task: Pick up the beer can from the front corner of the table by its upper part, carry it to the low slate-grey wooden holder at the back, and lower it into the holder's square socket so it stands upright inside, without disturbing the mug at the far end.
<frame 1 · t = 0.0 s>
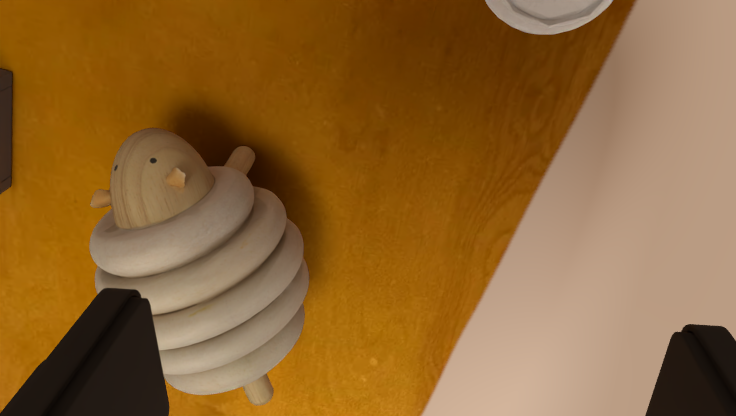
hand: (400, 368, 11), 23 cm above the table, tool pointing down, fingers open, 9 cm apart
toy sheep: (236, 223, 37), on the table
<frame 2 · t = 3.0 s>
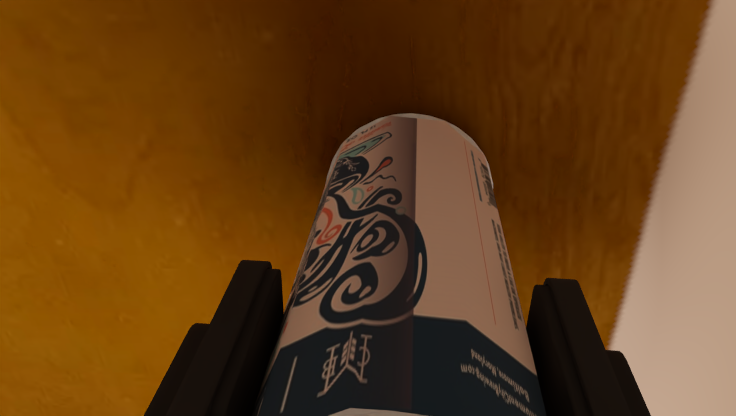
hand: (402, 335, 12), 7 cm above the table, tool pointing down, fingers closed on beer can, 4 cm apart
beer can: (409, 182, 18), on the table, touching gripper
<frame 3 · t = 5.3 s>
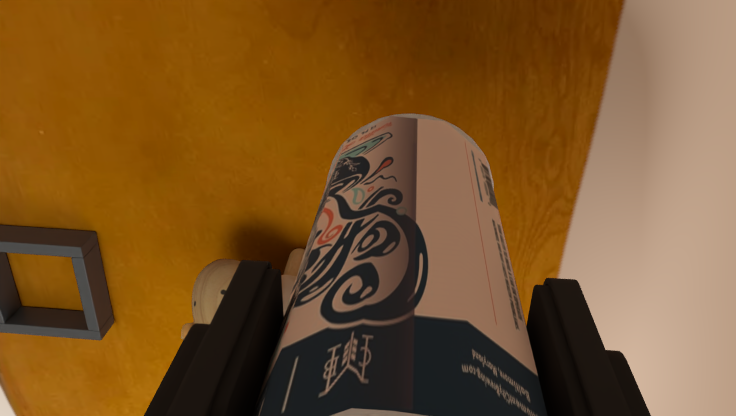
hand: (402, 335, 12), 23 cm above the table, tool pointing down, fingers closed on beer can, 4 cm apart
holder: (52, 274, 41), on the table
beer can: (409, 182, 18), point 16 cm above the table, touching gripper
toy sheep: (306, 313, 41), on the table
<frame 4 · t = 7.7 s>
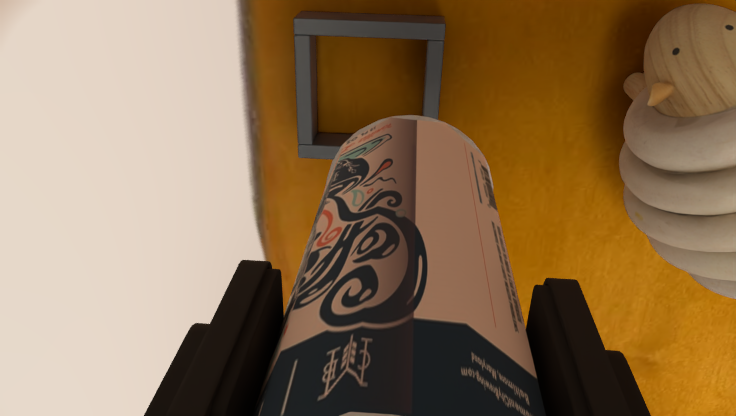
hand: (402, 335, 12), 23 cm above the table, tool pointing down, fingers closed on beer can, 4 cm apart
holder: (370, 84, 33), on the table
beer can: (409, 183, 18), point 16 cm above the table, touching gripper
toy sheep: (689, 129, 33), on the table
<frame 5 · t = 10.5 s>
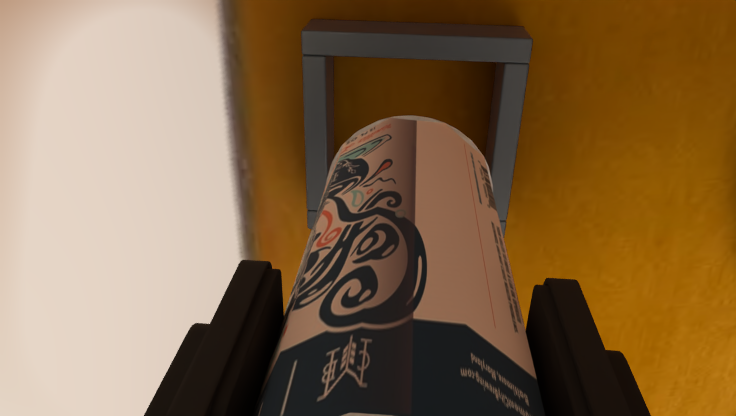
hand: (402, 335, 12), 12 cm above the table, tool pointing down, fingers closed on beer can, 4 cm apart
holder: (410, 123, 23), on the table
beer can: (408, 183, 18), point 5 cm above the table, touching gripper
when the fingers open (7 cm above the table, at t = 12.6 s): beer can stays where it is, resting in holder.
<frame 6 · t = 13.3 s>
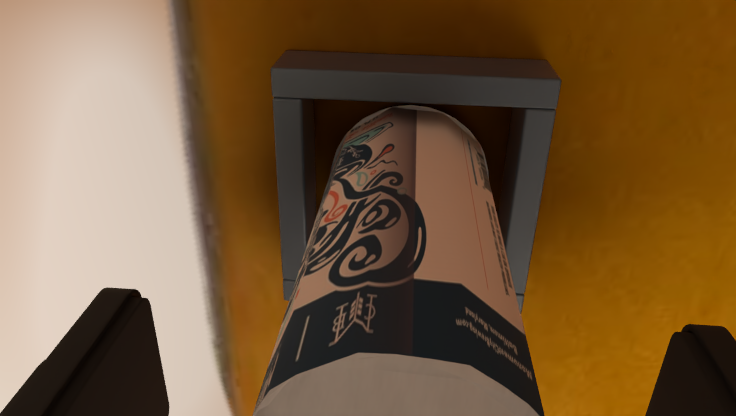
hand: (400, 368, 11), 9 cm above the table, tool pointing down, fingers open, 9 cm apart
holder: (408, 173, 19), on the table
beer can: (409, 171, 19), resting in holder
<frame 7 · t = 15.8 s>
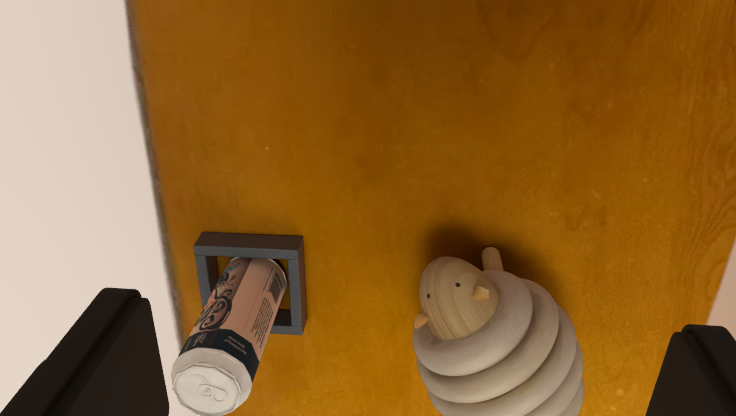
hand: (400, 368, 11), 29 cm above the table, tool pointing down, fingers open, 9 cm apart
holder: (256, 276, 45), on the table
beer can: (257, 275, 45), resting in holder
toy sheep: (487, 306, 45), on the table
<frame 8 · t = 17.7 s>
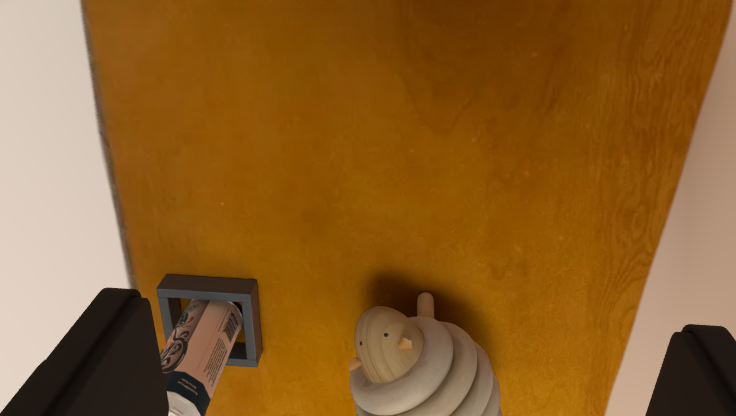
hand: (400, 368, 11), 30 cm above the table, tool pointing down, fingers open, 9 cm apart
holder: (215, 313, 50), on the table
beer can: (216, 312, 50), resting in holder
toy sheep: (425, 343, 50), on the table
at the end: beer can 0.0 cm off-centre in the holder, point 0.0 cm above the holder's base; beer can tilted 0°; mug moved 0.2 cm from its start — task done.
